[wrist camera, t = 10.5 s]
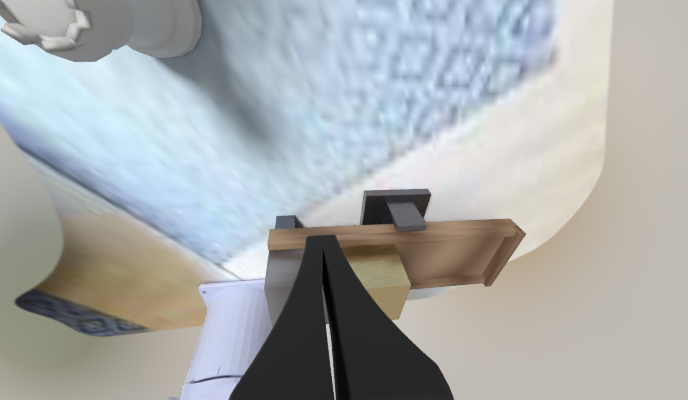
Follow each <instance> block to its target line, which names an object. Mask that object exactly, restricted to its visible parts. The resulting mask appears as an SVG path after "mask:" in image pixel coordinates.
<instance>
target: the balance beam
mask: <svg viewBox="0 0 688 400" xmlns="http://www.w3.org/2000/svg"><path fill="white" fill-rule="evenodd" d="M425 223H426V224H427V226H426V229H425V230H411V231H396V229H395V227H394V224H380V225H358V226H337V227H315V228H293V229H271V230H270V232H269V238H268V250H269V256H268V263H267V270H266V278H265V285H264V290H265V295H266V300H267V304H268V309H269V314H270V319H271V323H272V328H273V327H274V325H275V323H276V321H277V319H278V317H279V315H280V313H281V311H282V309H283V307H284V305H285V303H286V301H287V299H288V296H289V294H290V292H291V289H292V287H293V284H294V282H295V279H296V277H297V274H298V271H299V268H300V265H301V262H302V258H303V254H304V250H305V244H306V237H308V236H316V235H335V236H336V237H337V240H338V242H339V245H340V247H350V246H366V245H383V244H394V245H395V247H396V249H397V252H398V254H399V257H400V259H401V262H402V264H403V267H404V269H405V271H406V274H407V276H408V279H409V281H410V284H411V287H410V289H421V288H433V287H444V286H456V285H467V284H478V283H483V284H484V285H485V286H491V285H492V284H493V282H494V281H495V279H496V278H497V276H498V275H499V273H500V272H501V270H502V269H503V267H504V266H505V265H506V263H507V262H508V260H509V259H510V257H511V256H512V254H513V253H514V251H515V250H516V248H517V247H518V245H519V244H520V242H521V241H522V239H523V238H524V237H525V235H526V233H525V232H524V231H522V230H521V229H520V228H519V227H518V226H517V225H516V224H515V223H514V222H513V221H512V220H511V219H490V220H468V221H446V222H425ZM410 289H409V290H410ZM322 293H323V303H324V314H325V323H326V324H329V321H328V315H327V309H326V303H325V297H324V291H323V285H322Z"/></svg>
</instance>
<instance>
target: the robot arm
mask: <svg viewBox="0 0 688 400" xmlns="http://www.w3.org/2000/svg"><path fill="white" fill-rule="evenodd" d="M264 285H265V279H259V280H246V281H234V282H221V283H208V284H201V285H200V286H199V292H200V294H201V296H202V298H203V300H204V302H205V304H206V306H207V308H208V311H207V314H206V317H205V321H204V324H203V327H202V330H201V334H200V336H199V340H198V343H197V346H196V349H195V352H194V355H193V359H192V362H191V365H190V369H189V371H188V375H187V378H186V381H185V384H184V386H183V388H182V391H181V394H180V396H179V399H178V400H334V392H333V384H332V376H331V368H330V360H329V351H328V342H327V333H326V323H325V314H324V303H323V293H322V285H323V291H324V297H325V303H326V309H327V315H328V321H329V327H330V333H331V341H332V353H333V367H334V379H335V392H336V400H454V398H453V395H452V393H451V390H450V388H449V385H448V384H447V382H446V380H445V378H444V376H443V374H442V372H441V370H440V369H439V367H438V365H437V364H436V363H435V362H434V361H433V360H431V359H430V358H429V357H428V356H427V355H426V354H425V353H423V352H422V351H421V350H420V349H419V348H418V347H417V346H416V345H415V344H414V343H413V342H412V341H411V340H410V339H409V338H408V337H407V336H406V335H405V334H404V333H402V331H401V330H400V329H399V328H398V327H397V326H396V325H395V324H394V323H393V322H392V321H391V319H390V318H389V317H388V316H387V315H386V314H385V313H384V312H383V311H382V309H381V308H380V307H379V306H378V305H377V303H376V302H375V301H374V299H373V298H372V297H371V296H370V294H369V293H368V292H367V290H366V289H365V287H364V286H363V285H362V283H361V282H360V280H359V279H358V277H357V276H356V274H355V272H354V271H353V269H352V267H351V266H350V264H349V262H348V261H347V259H346V257H345V255H344V253H343V251H342V249H341V247H340V245H339V242H338V240H337V237H336V236H335V235H316V236H308V237H306V244H305V250H304V254H303V258H302V262H301V265H300V268H299V271H298V274H297V277H296V279H295V282H294V284H293V287H292V289H291V292H290V294H289V296H288V299H287V301H286V303H285V305H284V307H283V309H282V311H281V313H280V315H279V317H278V319H277V321H276V323H275V325H274V327H273V328H272V323H271V319H270V314H269V309H268V304H267V300H266V295H265V290H264ZM168 400H177V398H175V397H170V398H169V399H168Z"/></svg>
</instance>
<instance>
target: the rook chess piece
mask: <svg viewBox="0 0 688 400" xmlns="http://www.w3.org/2000/svg"><path fill="white" fill-rule="evenodd" d="M0 16H1V17H2V18H3V19H4V20H5V21H6V22H7V23H5V25H4V26H3V27H2V29H1V30H0V31H2V32H4V33H5V34H7V35H8V36H10V37H12V38H13V39H15V40H17V41H18V42H20V43H22V44H23V45H28V44H35V45H37V46H38V47H40V48H42V49H43V50H45V51H46V52H48V53H50V54H52V55H55V56H59V57H62V58H65V59H68V60H71V61H74V62H95V61H98V60H99V59H101V58H103V57H105V56H106V55H108V54H110V53H111V51H112V50H115V49H119V48H120V47H122V46H124V45H128V46H129V47H130V48H132V49H133V50H136V51H138V52H141V53H144V54H147V55H150V56H152V57H155V58H173V57H181V56H183V55H185V54H186V53H188V52H190V51H192V50H193V49H194V47H195V46H196V44H197V42H198V41H199V39H200V37H201V28H202V16H201V12H200V9H199V5H198V1H197V0H0Z"/></svg>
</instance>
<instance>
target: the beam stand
mask: <svg viewBox="0 0 688 400" xmlns="http://www.w3.org/2000/svg"><path fill="white" fill-rule="evenodd" d="M430 196H431V193H430V192H429V190H428V189H409V190H373V191H364V197H363V204H362V212H361V219H360V225H380V224H394V227H395V229H396V231H411V230H425V229H426V226H427V224H426V223H425V221H424V219H423V217H424V214H425V211H426V208H427V205H428V202H429V199H430ZM293 228H296V226H295V215H294V216H277V218H276V226H275V229H293Z"/></svg>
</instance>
